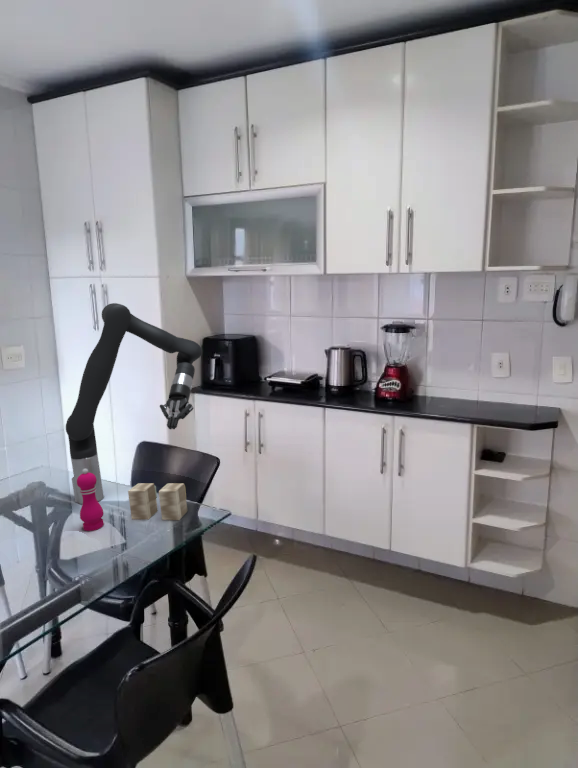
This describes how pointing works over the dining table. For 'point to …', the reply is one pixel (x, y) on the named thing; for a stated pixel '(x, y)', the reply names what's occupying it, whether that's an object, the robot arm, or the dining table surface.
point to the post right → (173, 501)
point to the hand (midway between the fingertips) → (171, 428)
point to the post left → (142, 501)
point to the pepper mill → (89, 502)
